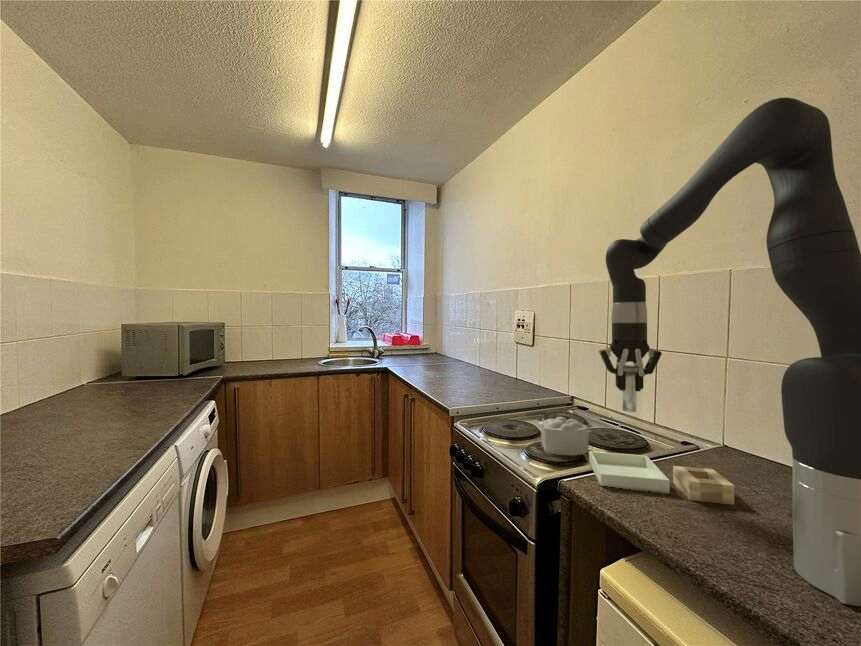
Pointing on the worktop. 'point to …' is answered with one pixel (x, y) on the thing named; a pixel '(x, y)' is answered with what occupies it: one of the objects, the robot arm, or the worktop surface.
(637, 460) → the parts tray
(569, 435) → the lumpy-topped squat cylinder
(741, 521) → the worktop surface
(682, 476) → the frame
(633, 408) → the pin
